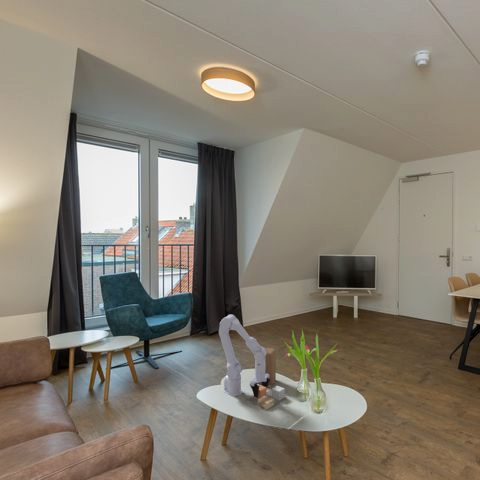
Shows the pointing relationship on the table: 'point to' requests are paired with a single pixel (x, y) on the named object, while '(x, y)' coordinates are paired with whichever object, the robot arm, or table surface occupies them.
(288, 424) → the table surface
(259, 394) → the terracotta cube
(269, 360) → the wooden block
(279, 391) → the blue-grey cube
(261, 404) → the maple block
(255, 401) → the grey square mat
